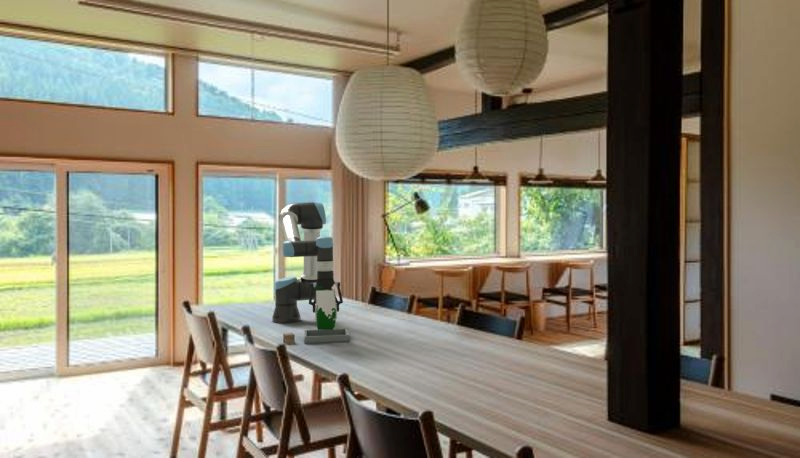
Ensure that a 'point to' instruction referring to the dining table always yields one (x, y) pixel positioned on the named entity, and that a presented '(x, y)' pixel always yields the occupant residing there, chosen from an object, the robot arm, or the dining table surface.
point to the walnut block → (288, 338)
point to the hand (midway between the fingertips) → (326, 319)
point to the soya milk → (325, 308)
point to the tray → (326, 336)
